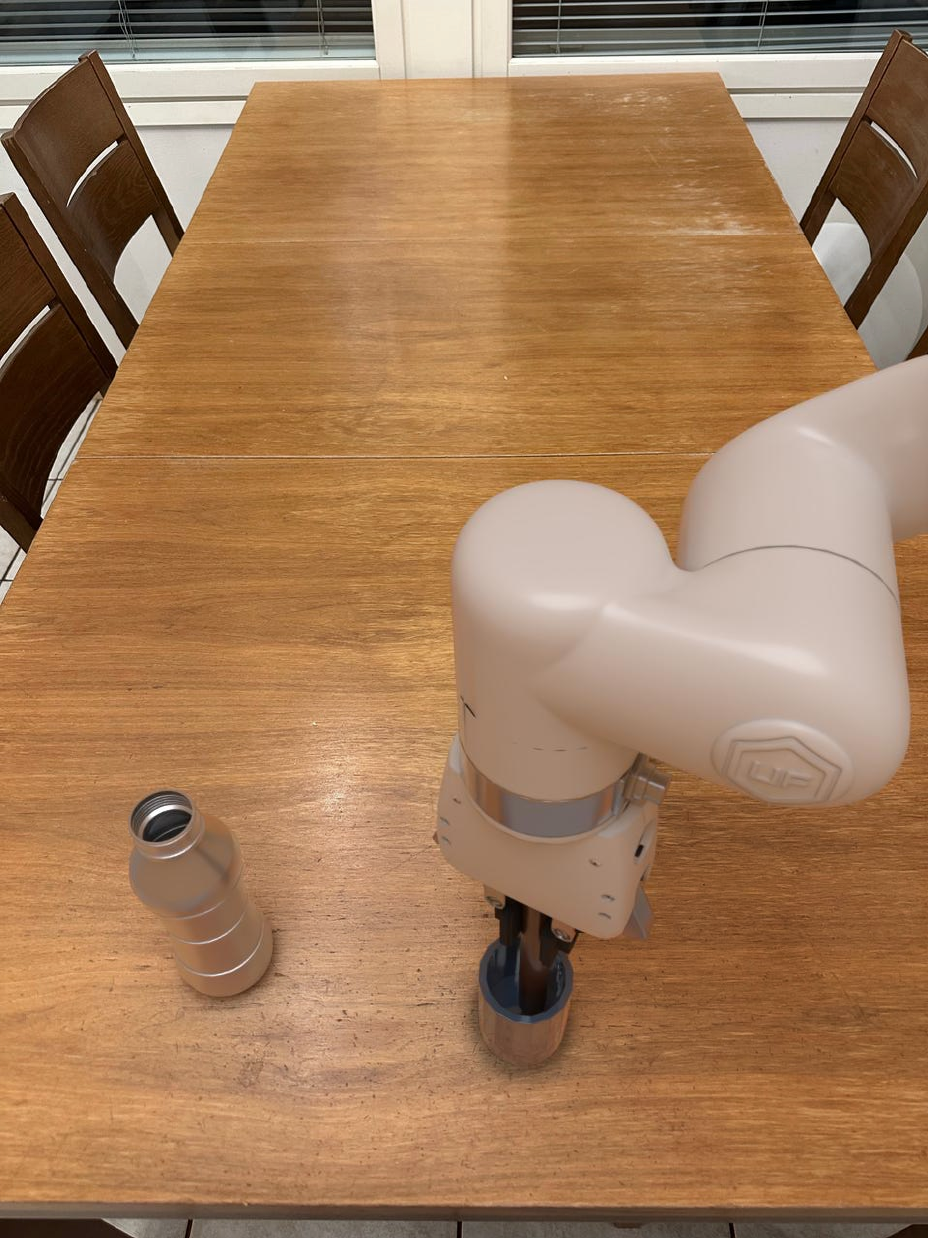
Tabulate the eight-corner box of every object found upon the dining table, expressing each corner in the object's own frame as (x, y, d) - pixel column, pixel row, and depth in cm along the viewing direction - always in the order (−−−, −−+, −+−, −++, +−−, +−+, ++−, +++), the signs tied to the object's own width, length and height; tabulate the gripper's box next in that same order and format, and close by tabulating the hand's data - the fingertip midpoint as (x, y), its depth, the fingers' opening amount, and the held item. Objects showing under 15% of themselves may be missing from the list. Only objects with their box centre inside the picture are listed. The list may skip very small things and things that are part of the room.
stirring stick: (550, 996, 61) (562, 881, 50) (538, 1021, 60) (547, 910, 48) (525, 983, 62) (531, 867, 50) (513, 1008, 61) (516, 895, 49)
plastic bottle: (189, 921, 69) (109, 770, 54) (282, 914, 69) (228, 763, 55) (177, 1010, 65) (87, 873, 50) (276, 1003, 65) (216, 865, 50)
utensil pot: (578, 1003, 65) (588, 956, 59) (542, 1083, 61) (548, 1041, 56) (503, 963, 67) (505, 914, 61) (464, 1039, 63) (462, 994, 57)
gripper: (759, 753, 39) (692, 939, 53) (430, 625, 45) (446, 824, 58) (699, 904, 35) (644, 1064, 49) (342, 742, 40) (382, 927, 54)
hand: (536, 932), depth 53 cm, fingers closed on stirring stick, 1 cm apart
